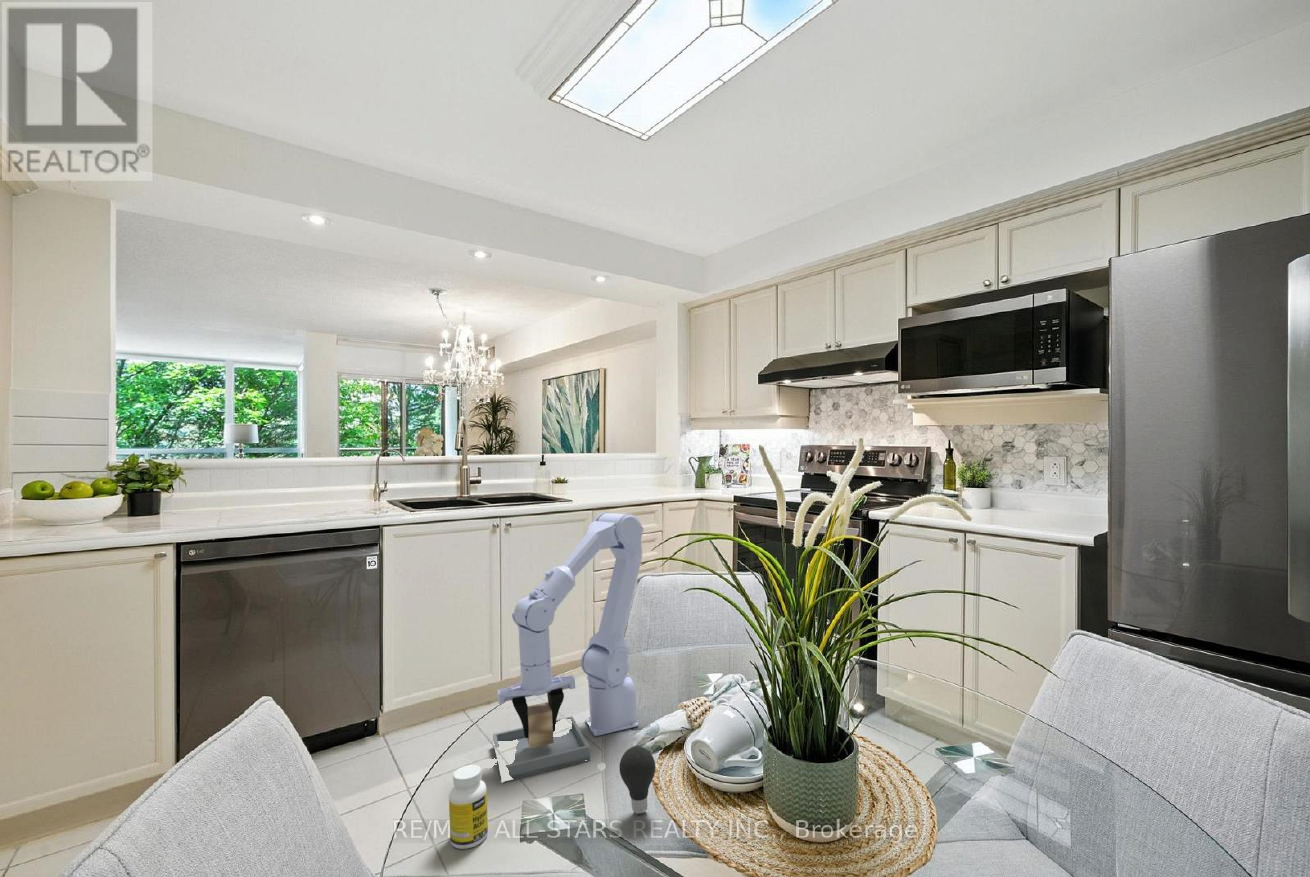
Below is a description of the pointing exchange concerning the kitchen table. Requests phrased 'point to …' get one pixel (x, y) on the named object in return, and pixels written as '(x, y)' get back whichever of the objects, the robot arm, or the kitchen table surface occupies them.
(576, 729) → the tray
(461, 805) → the supplement bottle
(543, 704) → the oak block
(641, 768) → the light bulb
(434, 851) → the kitchen table surface
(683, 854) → the kitchen table surface
